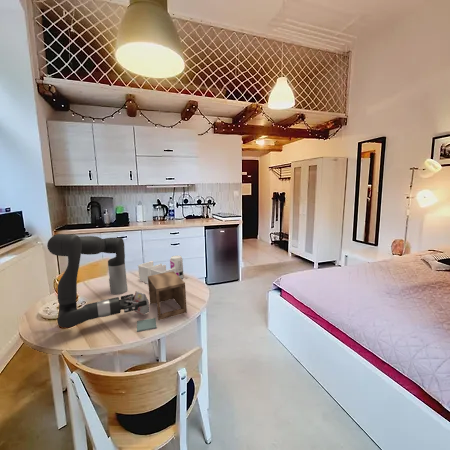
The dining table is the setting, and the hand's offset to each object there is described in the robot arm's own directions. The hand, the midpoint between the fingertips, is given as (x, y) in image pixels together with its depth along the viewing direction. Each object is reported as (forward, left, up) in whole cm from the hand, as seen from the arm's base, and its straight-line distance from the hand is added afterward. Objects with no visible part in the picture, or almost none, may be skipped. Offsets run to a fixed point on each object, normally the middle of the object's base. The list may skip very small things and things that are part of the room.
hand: (144, 299), depth 126 cm
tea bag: (-2, 0, -6) cm, 7 cm away
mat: (0, -11, -8) cm, 14 cm away
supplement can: (+21, +42, -8) cm, 47 cm away
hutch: (+10, +2, -8) cm, 13 cm away
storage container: (+8, +40, -8) cm, 42 cm away
